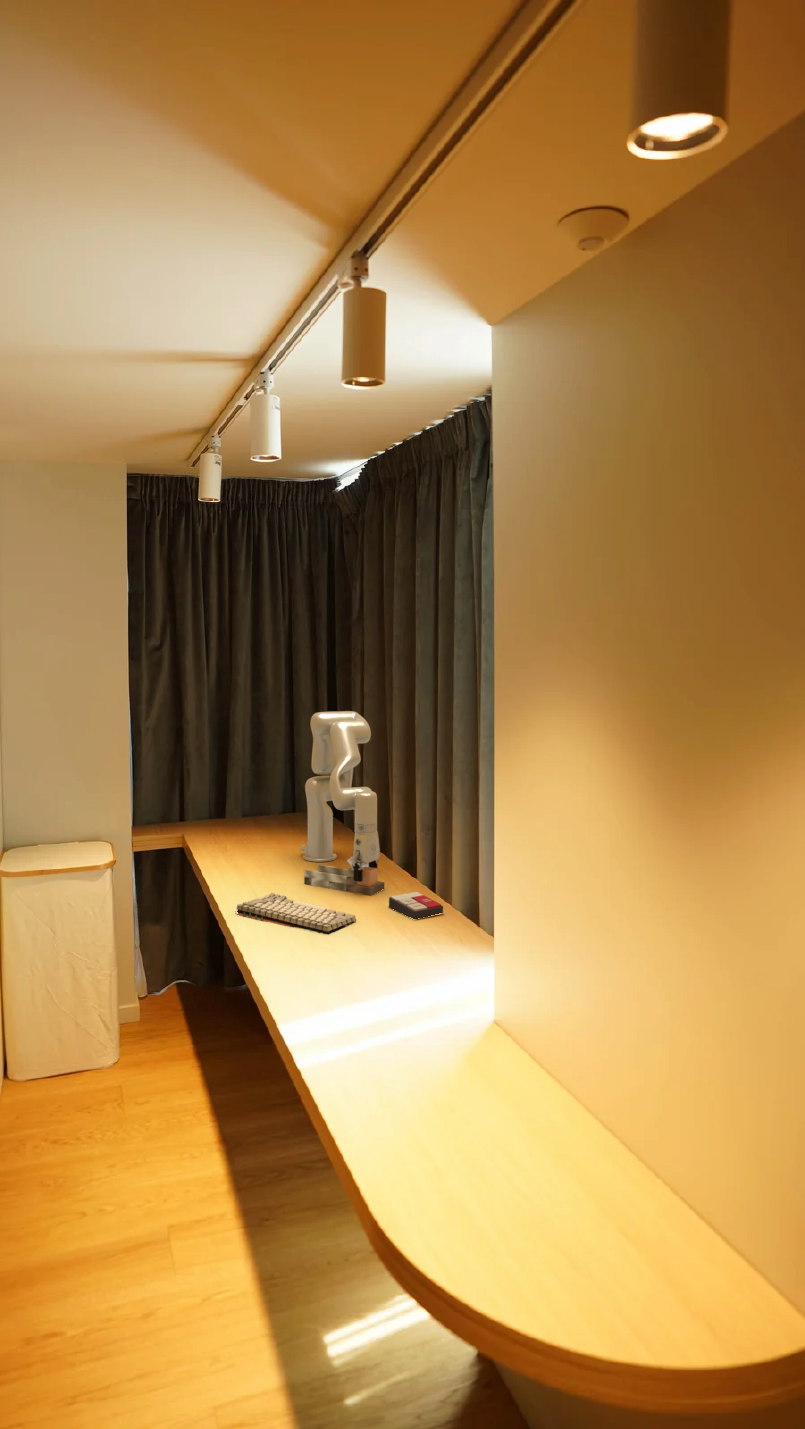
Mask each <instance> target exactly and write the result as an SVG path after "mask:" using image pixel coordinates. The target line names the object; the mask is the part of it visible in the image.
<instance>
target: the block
mask: <svg viewBox="0 0 805 1429" xmlns="http://www.w3.org/2000/svg"><path fill="white" fill-rule="evenodd" d="M361 870H363V881H362V882H358V881H357V884H359V885H365V886H372V885H374V884H376V883H378V881H379V880H378V878H379V877H378V875H379V874H378V872H379V871H378V867H377V868H372V867H366V866H365V867H362V869H361Z"/></svg>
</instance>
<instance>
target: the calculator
mask: <svg viewBox="0 0 805 1429" xmlns="http://www.w3.org/2000/svg"><path fill="white" fill-rule="evenodd" d="M389 907H390V908H389ZM388 908H389V909H390V910H393V909H394V910H393V911H395V910H396V911H395V912H398V911H399V912H398V913H400V912H401V913H403V914H404V915H403V914H402V915H403V916H405V915H406V916H405V917H407V916H408V917H407V918H409V917H411V918H413V919H417V920H419V919H418V918H422V919H424V918H423V917H428V916H431V915H435V914H439V913H443V914H444V906H443V905H442V903H439V902H438V901H436V900H434V899H432V898H431V897H428V896H426V895H425V894H422V893H420V892H417V891H413V892H409V893H402V894H397V895H393V896H390V897H388ZM401 913H400V914H401ZM411 918H410V919H411ZM428 918H429V917H428ZM413 919H412V920H413Z"/></svg>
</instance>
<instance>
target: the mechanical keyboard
mask: <svg viewBox="0 0 805 1429" xmlns="http://www.w3.org/2000/svg"><path fill="white" fill-rule="evenodd" d="M236 911H237V912H238V914H237V915H236V916H238V915H239V917H243V918H247V919H251V920H254V921H259V922H260V921H261V922H264V923H271V924H275V925H279V926H283V927H287V928H293V929H302V930H305V931H306V930H307V931H310V932H315V933H319V934H323V935H327V936H328V935H331V934H333V933H336V932H338V931H341V930H343V929H344V928H345V929H346V928H347V926H348V925H352V923H354V922H356V921H357V918H356V915H355V914H351V913H346V912H342V911H336V910H334V909H330V908H329V909H327V907H323V906H321V905H320V906H318V905H314V904H311V903H306V902H302V901H299V900H293V899H288V898H287V896H286V895H280V894H276V893H273V892H271V893H269V894H265V895H263V896H260V897H258V898H255V899H251V900H249V901H243V902H242V903H239V904H237V905H236Z"/></svg>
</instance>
